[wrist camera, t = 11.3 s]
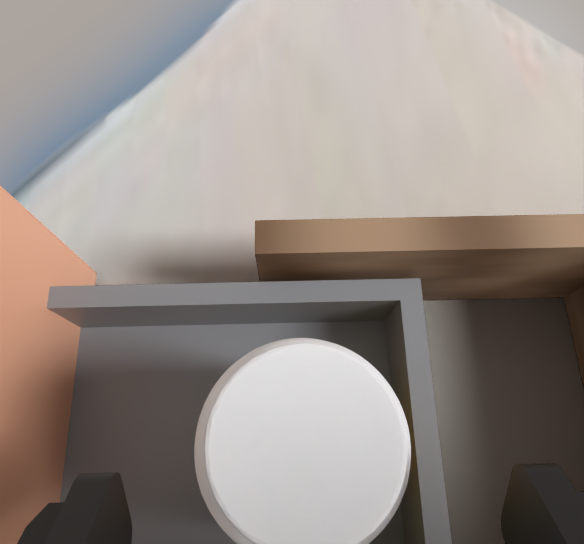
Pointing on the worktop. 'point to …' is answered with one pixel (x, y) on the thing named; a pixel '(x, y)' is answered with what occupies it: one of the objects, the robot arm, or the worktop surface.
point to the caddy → (437, 256)
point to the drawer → (176, 380)
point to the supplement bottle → (302, 446)
